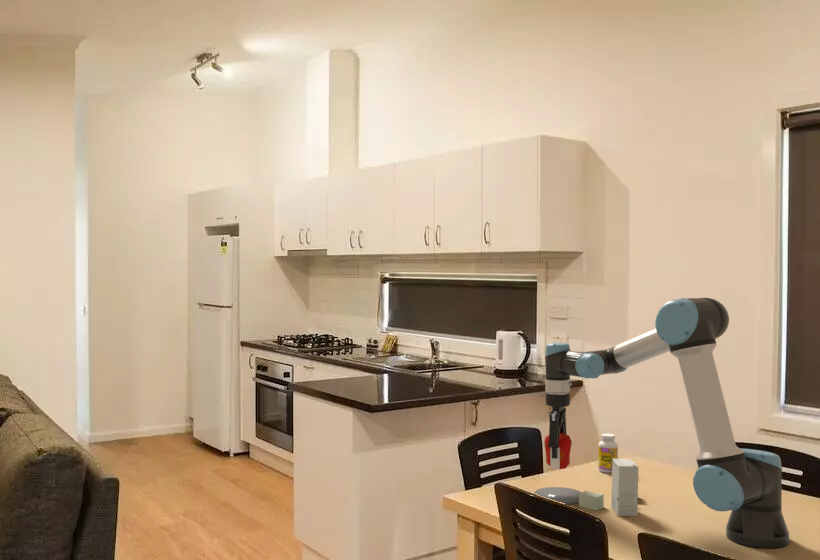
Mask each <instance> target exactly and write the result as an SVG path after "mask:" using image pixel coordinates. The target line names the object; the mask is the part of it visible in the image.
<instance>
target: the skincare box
mask: <svg viewBox="0 0 820 560" xmlns="http://www.w3.org/2000/svg"><path fill="white" fill-rule="evenodd" d="M611 474H612V475H611V502H610V503H611V504H610V506H611V509H612V510H613V511H614V512H615V513H616V515H617V516H618V517H638V497H639V493H638V492H639V466H638V465H637V464H636V462H635V461H633V460H632V458H618V459H613V465H612V473H611Z"/></svg>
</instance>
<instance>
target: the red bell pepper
mask: <svg viewBox="0 0 820 560" xmlns="http://www.w3.org/2000/svg"><path fill="white" fill-rule="evenodd" d="M543 441H544V443H543V444H544V450H545V459H546V460H545V461H546V464H547V465H548V466H549V467H550V468H551V464H550V447H548V445H549V434H548V435H545V438H544V439H543ZM572 442H573V441H572V439H571V437H570V435H568V434H564V433H560V437H559V447H560V469H559V470H563V469H565V470H566V469H567V468H568V467H569V466H570V464H571V462H570V461H571V459H570V458H571V457H570V455H571V449H572ZM553 443H554V442H553Z"/></svg>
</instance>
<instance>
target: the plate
mask: <svg viewBox="0 0 820 560" xmlns="http://www.w3.org/2000/svg"><path fill="white" fill-rule="evenodd" d="M581 492H582V491H580V490H578V489H574V488H570V487H564V486H563V487H560V486H549V487H543V488H542V487H541V488H539V489H536V490H535V491H534V494H537V495H540V496H543V497H546V498H549V499H552V500H555V501H558V502H562V503H565V504H568V505H574V504H579V493H581Z"/></svg>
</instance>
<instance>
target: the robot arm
mask: <svg viewBox="0 0 820 560" xmlns="http://www.w3.org/2000/svg"><path fill="white" fill-rule="evenodd" d="M729 323H730V315H729V313H728V310H727V308H726V307H725V306H724V304H723V303H722V302H720V301H719V300H717V299H715V298H710V297H695V298H694V297H691V298H690V297H689V298H688V297H687V298H686V297H682V298H677V299H672V300H669V301H667V302H665V303H664V304H663V305H662V306H661V307H660V308H659V311H658V312H657V314H656V316H655V323H654V324H655V325H654V326H655V328H653V329H651V330H649V331H646V332H645V333H642V334H640V335H638V336H635V337H633V338H631V339H628V340H625V341H623V342H621V343H619V344H616V345H613V346H612V347H609V348H606V349H600V350H590V351H572V350H571V347H570V344H569V343H565V342H551V343H547V344H546V346H545V353H544V354H545V356H544V361H545V383H544V384H545V385H544V386H545V387H544V389H545V392H546V393H545V405H546V406H548V407H552V409H551V411H550V413H549V429H548V431H549V434H548V435H549V445H548V447H550V464H551V467H550V469H554V470H561V469H560V447H559V437H560V433H564V434H567V416H566V415H567V412H566V411H567V407H569V406H570V404H571V395H570V390H571V386H572V385H573V383H572V382H570V381H571V377H578V378H584V379H598V378H599V377H600V376H602V375H609V374H615V375H616V374H619V373H623V372H625V371H626V370H627V369H628V368H630V367H632V366H635V365H637V364H640V363H643V362H646V361H647V360H650V359H653V358H655V357H658V356H661V355H663V354H666V353H668V352H670V354H671V355H672V356H674V357H675V358H677V360H678V363H679V368H680V371H681V376H682V380H683V384H684V388H685V393H686V396H687V400H688V404H689V408H690V412H691V416H692V417H691V418H692V421H693V425H694V428H695V433H696V437H697V442H698V445H699V452H698V454H697V456H696V457H695V459H696V463H697V469H696V471H695V473H694V475H693V477H692V485H693V490H694V492H695V494H696V496H697V498H698V499H699V500H700V502H701V503H702V504H703V505H705V506H706V507H707V508H708V509H711V510H713V511H715V512H728V511H730V514H729V517H728V521H727V523H726V525H725V527H726V528H725V533H726V538H728V539H729V540H731V541H732V542H734V543H737V544H740V545H743V546H747V547H754V548H759V549H760V548H762V549H777V548H783V547H786V546H788V545H789V544H790V532H789V529H788V526H787V524H786V520H785V518H784V515H783V510H782V502H783V499H782V495H783V494H782V489H783V487H782V482H783V481H782V479H783V478H782V477H783V476H782V471H783V467H782V461H781V459H782V458H781V457H780V456H779V455H778V454H776V453H775V452H774V453H773V452H770V451H766V450H759V449H752V448H740V447H738V446H737V444H736V441H735V436H734V433H733V430H732V426H731V421H730V417H729V414H728V413H729V412H728V410H727V405H726V401H725V398H724V393H723V390H722V389H723V388H722V385H721V382H720V379H719V374H718V371H717V366H716V361H715V358H714V353H713V352H714V350H715V348H717V347H716V346H717V345H718V344H717V341H716V340H717V339H719V338H720V337H721V336H723V335H724V333H726V331H727V329H728V327H729V325H730V324H729ZM567 435H568V434H567ZM553 442H554V443H553Z"/></svg>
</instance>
